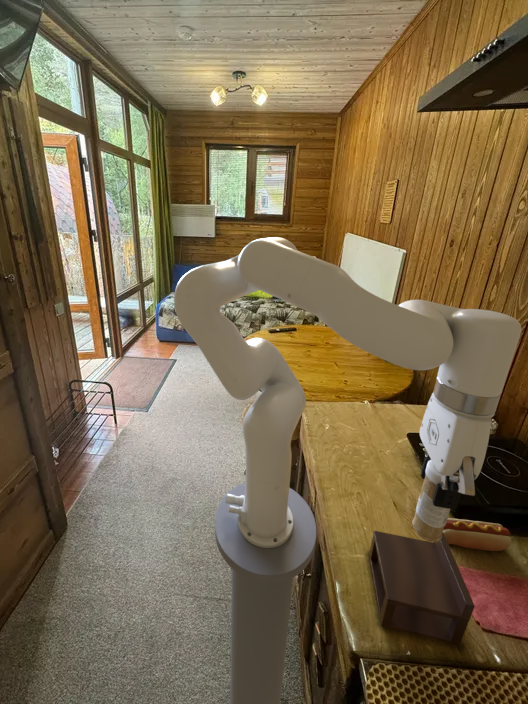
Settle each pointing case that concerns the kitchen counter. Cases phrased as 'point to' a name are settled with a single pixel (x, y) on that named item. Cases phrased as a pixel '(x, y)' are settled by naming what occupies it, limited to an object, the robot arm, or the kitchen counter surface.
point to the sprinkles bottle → (430, 507)
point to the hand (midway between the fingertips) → (437, 491)
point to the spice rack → (419, 587)
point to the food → (477, 534)
